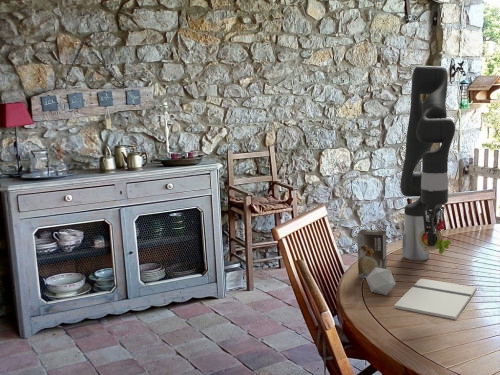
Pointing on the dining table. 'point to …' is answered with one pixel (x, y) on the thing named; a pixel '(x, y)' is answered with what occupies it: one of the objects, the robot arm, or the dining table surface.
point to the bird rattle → (439, 241)
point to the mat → (436, 298)
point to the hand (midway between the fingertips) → (433, 243)
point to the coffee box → (371, 251)
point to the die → (380, 281)
